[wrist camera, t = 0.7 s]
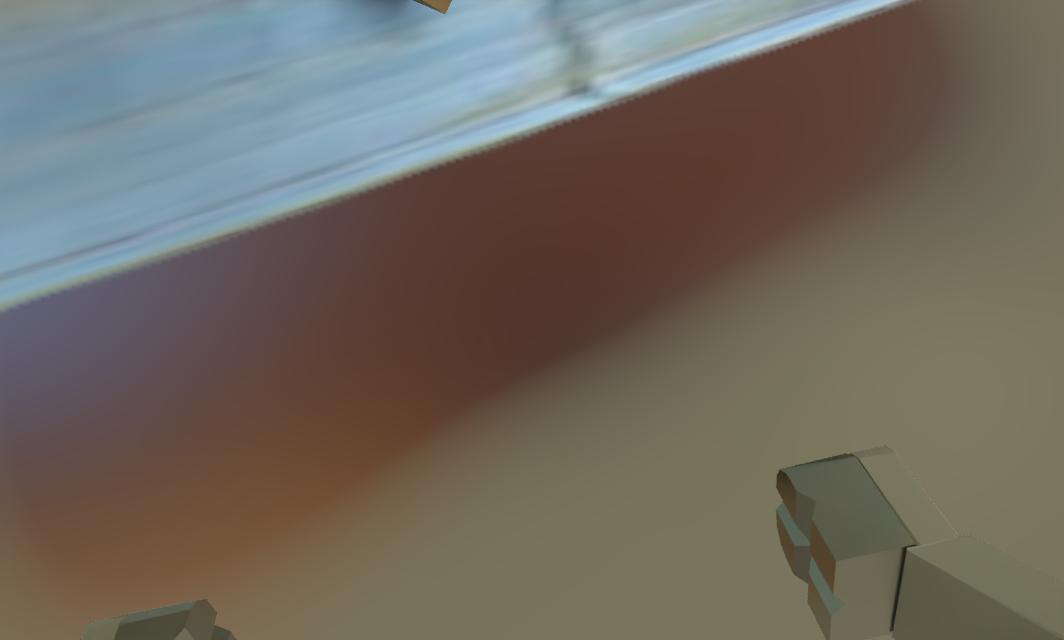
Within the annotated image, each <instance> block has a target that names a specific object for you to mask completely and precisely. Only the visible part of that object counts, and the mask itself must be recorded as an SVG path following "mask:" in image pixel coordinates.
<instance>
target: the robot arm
mask: <svg viewBox="0 0 1064 640" xmlns="http://www.w3.org/2000/svg"><path fill="white" fill-rule="evenodd" d="M776 488H777V490H778V492H779V494H780V496H781V498H782V500H783V502H782V503H781V504H780V505H779V506H778V508H777V509H776V520H777V529H778V534H779V538H780V543H781V546H782V548H783V551H784V554H785V557H786V559H787V561H788V563H789V565H790V568H791V570H792V572H793V574H794V575H795V576H797V577H798V578H800V579H802V580H803V581H805V582H806V583H808V604H809V606H810V608H811V610H812V612H813V614H814V616H815V618H816V620H817V622H818V624H819V626H820V628H821V630H822V632H823V634H824V636H825V638H826V640H862V639H868V638H873V637H878V636H883V635H888V634H893V635H892V637H893V638H894V639H895V640H1064V582H1062V581H1060V580H1058V579H1056V578H1054V577H1052V576H1050V575H1048V574H1047V573H1045V572H1043V571H1041V570H1039V569H1037V568H1035V567H1033V566H1031V565H1029V564H1027V563H1025V562H1023V561H1021V560H1019V559H1017V558H1015V557H1014V556H1012V555H1010V554H1008V553H1006V552H1004V551H1002V550H1000V549H998V548H996V547H994V546H992V545H990V544H988V543H986V542H984V541H983V540H981V539H978V538H977V537H975V536H973V535H971V534H969V535H963V536H959V535H958V534H957V533H956V532H955V530H954V529H953V528H952V526H951V525H950V524H949V522H948V521H947V520H946V518H945V517H944V516H943V514H942V513H941V512H940V510H939V509H938V508H937V507H936V505H935V504H934V502H933V501H932V500H931V499H930V497H929V496H928V495H927V493H926V492H925V491H924V489H923V488H922V487H921V485H920V484H919V483H918V481H917V480H916V479H915V477H914V476H913V475H912V473H911V472H910V471H909V470H908V468H907V467H906V465H905V464H904V463H903V462H902V460H901V459H900V458H899V456H898V455H897V454H896V452H895V451H894V450H893V449H892V448H890V447H888V446H887V445H884V446H880V447H875V448H871V449H866V450H862V451H857V452H853V453H850V454H846V453H845V454H841V455H837V456H833V457H828V458H824V459H820V460H816V461H812V462H807V463H804V464H799V465H795V466H791V467H786V468H782V469H779V471H778V473H777V483H776ZM216 616H217V612H216V611H215V609H214V608H213V607H212V606H211V604H210V603H209V602H208V601H207V599H204V600H197V601H192V602H187V603H182V604H177V605H172V606H167V607H162V608H156V609H151V610H146V611H141V612H136V613H131V614H127V615H122V616H117V617H113V618H108V619H103V620H98V621H94V622H93V623H92V624H91V625H90V626H89V627H88V628H87V629H86V630H85V631H84V632H83V634H82V636H81V639H80V640H236V638H235V637H234V636H233V634H232V633H231V631H228V630H226V629H224V628H221V627H219V626H216V625H214V624H215V620H216Z"/></svg>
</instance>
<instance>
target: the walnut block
mask: <svg viewBox="0 0 1064 640" xmlns="http://www.w3.org/2000/svg"><path fill="white" fill-rule="evenodd" d="M414 1H416V2H418V3H421V4H423V5H425V6H428V7H430V8H432V9H434V10H437V11H439V12H441V13H444V14H445V13H446V11H447V9H448V7H449V5H450V3H451V1H452V0H414Z"/></svg>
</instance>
